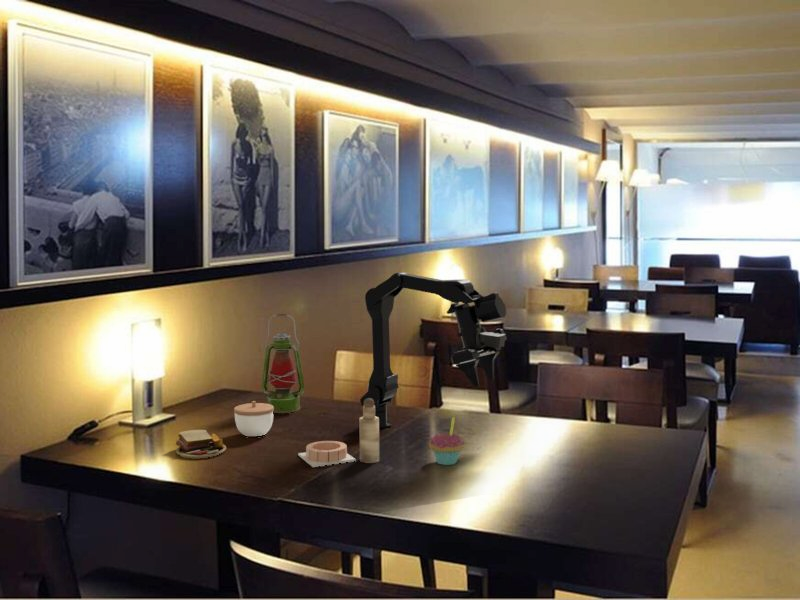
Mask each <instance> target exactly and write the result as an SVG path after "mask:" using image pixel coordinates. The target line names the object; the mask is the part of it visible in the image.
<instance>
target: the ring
mask: <svg viewBox="0 0 800 600" xmlns="http://www.w3.org/2000/svg"><path fill="white" fill-rule="evenodd" d="M297 454H298V456H299V457H300V458H301V460H303V461H305V462H306V463H307V464H308V465H309V466H311V468H318V467H319V466H320V467H326V466H325V465H327V466H333V465H332V464H334V465H340V464H339V463H341V464H347V463H346V462H348V463H353V462H354V461H355V462H357V461H356V458H355V457H353V456H352V455H350V454H349V453H348V446H347V444H346V443H344V442H342V441H336V440H321V441H315V442H311V443H308V444H307V445H306V446H305V452H298V453H297ZM320 467H319V468H320Z"/></svg>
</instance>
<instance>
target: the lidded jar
mask: <svg viewBox="0 0 800 600" xmlns="http://www.w3.org/2000/svg"><path fill="white" fill-rule="evenodd" d="M273 411H274V407H273V405H270V404H267V403H266V402H265V403H261V402H256V400H253V401H251V403H250V402H249V403H243V404H239V405H237V406H235V407H234V408H233V413H234V422H235V426H236V428H237V430H238V432H240V433H241V434H242V435H245V436H262V435H265V434H267V433H268V432H269V431H270V430H271V429H272V426H273V422H274V414H273ZM265 436H266V435H265Z"/></svg>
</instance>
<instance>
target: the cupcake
mask: <svg viewBox="0 0 800 600" xmlns="http://www.w3.org/2000/svg"><path fill="white" fill-rule="evenodd" d="M455 416H456V414H453V417H451V421H450V422H451V423H450V427H449V428H450V430H449V432H447V433H446V432H444V433H443V432H442V433H438V434H435V435H433V436H432V437H431V438H430V439H429V442H428V447H429V450H431V451H432V452H433V455H434V457H435V460H436V462H437V464H439V465H443V466H449V465H450V466H451V465H455V464H457V462H458V458H459V455H460V453H461V451H463V449H464V448H465V447H464V446H465V444H466V443H465V441H464V440H463V439H462V437H460V436H459V435H457V434H454V433H453V432H454V426H455V419H456V417H455Z"/></svg>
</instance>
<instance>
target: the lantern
mask: <svg viewBox="0 0 800 600" xmlns="http://www.w3.org/2000/svg"><path fill="white" fill-rule="evenodd" d="M274 317H289V318H291V320H292V321H293V327H294V328H293V329H294V339H295V340H296V342H297V345H296V344H294V343H291V335H289V334H287V333H285V332H286V328H285V327H284V326H279V327H278V329H281V328H283V331H280V330H278V332H279V333H277V334H275V335H273V338H274V339H273V342H272V343H269V344H268V345H267V342H268V340H269V339H270V323H271V320H272V319H273V318H274ZM267 325H268V326H267V338H266V340H265V341H264V345H265V347H266V348H265V354H264V363H263V371H262V380H261V389H262V391H263V393H264V394H267V397H266V404H270V405H273V407H274V411H276V412H293V411H297V410H299V409H300V408H301V406H300V396H301V395H303V394H304V392H305V381H304V375H303V367H302V363H301V356H300V350H299V346H300V341H299V340H298V337H297V333H296V332H297V331H296V330H297V329H296V321H295V318H293V316H292V315H289V314H288V313H276V314H273V315H271V316H270V318H269V320H268V323H267ZM272 350H275V354H274V355H273V356H274V357H273V359H272V360H273V361H272V364H271V370H269V369H270V368H269V367H270V360H271V359H270V358H271V351H272ZM290 350H292V351H293V354H294V361H295V366H294V362H293V359H292V356H291V353H290ZM295 368H296V370H295ZM296 372H297V373H296ZM296 374H297V377H296ZM297 378H298V381H297ZM269 383H270V385H272V386H273V387H274V389H275V390H274V391H273V390H270V389H268V388H269ZM295 384H298V387H299V389H298V390H296V391H293V390H291V388H292V387H293V386H294V385H295Z"/></svg>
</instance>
